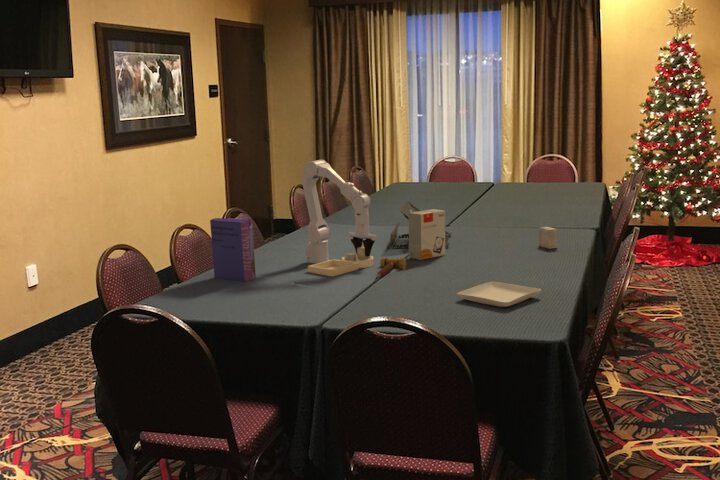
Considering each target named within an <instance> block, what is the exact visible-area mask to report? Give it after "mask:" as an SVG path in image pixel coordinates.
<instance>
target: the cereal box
mask: <svg viewBox="0 0 720 480" xmlns="http://www.w3.org/2000/svg"><path fill="white" fill-rule="evenodd" d="M209 221H210V223H209V224H210V237H211V248H212V250H211V251H212V262H213V274H214V275H213V276H214V279H221V280H230V281H231V280H232V281H240V282H247V283H248V282H252V281H255V280H256V279H257V278H256V277H257V275H256V274H257V273H256V262H255V247H254V245H255V244H254V230H253V228H254V227H253V220H251V219H239V218H238V219H235V218H222V217H221V218H220V217H218V218H212V219H210V220H209Z"/></svg>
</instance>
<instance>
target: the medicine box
mask: <svg viewBox="0 0 720 480" xmlns="http://www.w3.org/2000/svg"><path fill="white" fill-rule="evenodd" d="M538 247H541V248H545V249H550V250H551V249H553V250H554V249H557V248H558V229H557V228H553V227H550V226H542V227H539V228H538Z"/></svg>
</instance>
